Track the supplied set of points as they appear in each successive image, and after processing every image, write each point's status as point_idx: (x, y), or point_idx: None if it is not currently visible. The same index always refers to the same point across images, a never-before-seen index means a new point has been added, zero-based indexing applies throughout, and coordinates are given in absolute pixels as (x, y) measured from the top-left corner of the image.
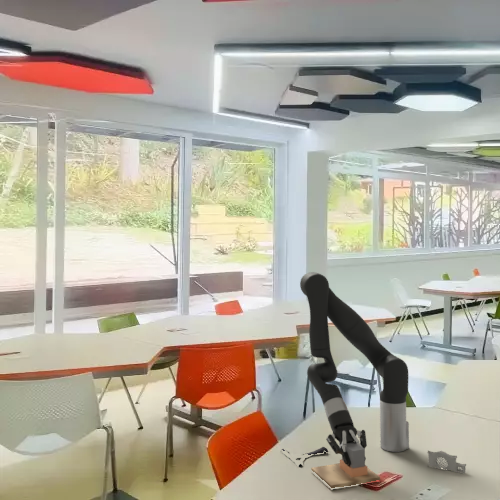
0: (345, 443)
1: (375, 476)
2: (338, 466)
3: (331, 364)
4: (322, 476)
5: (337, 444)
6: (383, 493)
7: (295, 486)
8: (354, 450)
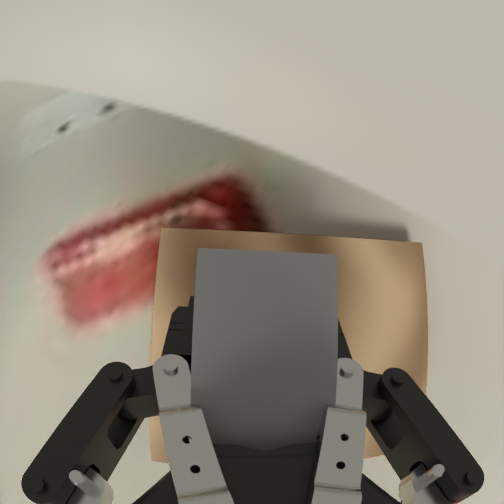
0: (337, 410)
1: (178, 241)
2: None
3: None
4: (423, 342)
5: (409, 413)
6: (223, 146)
7: (493, 331)
8: (314, 256)
